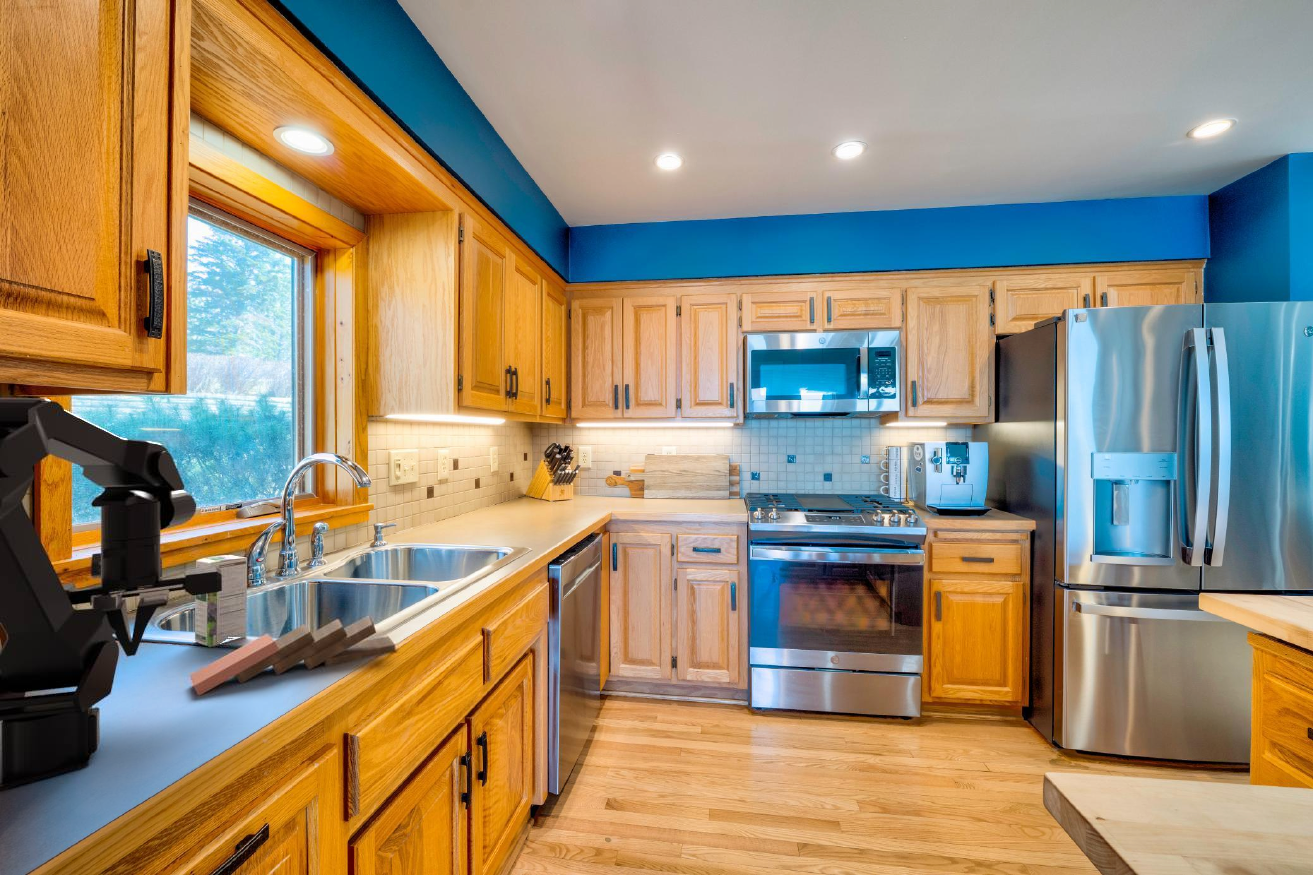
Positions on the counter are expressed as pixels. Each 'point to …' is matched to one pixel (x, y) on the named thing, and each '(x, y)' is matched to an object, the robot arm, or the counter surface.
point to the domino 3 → (312, 645)
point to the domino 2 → (280, 651)
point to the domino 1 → (233, 663)
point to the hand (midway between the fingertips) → (131, 655)
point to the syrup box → (223, 602)
